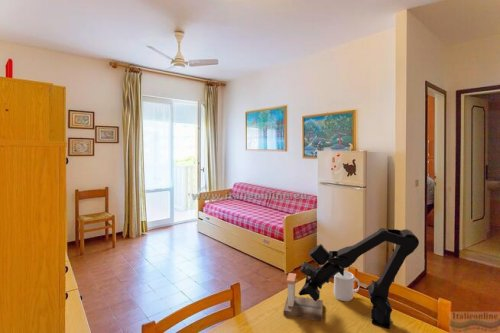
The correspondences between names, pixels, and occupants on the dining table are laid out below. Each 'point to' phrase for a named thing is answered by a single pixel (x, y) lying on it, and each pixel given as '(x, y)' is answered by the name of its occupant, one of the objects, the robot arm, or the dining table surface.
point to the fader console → (305, 308)
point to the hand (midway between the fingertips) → (299, 294)
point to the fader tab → (291, 288)
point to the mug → (344, 286)
